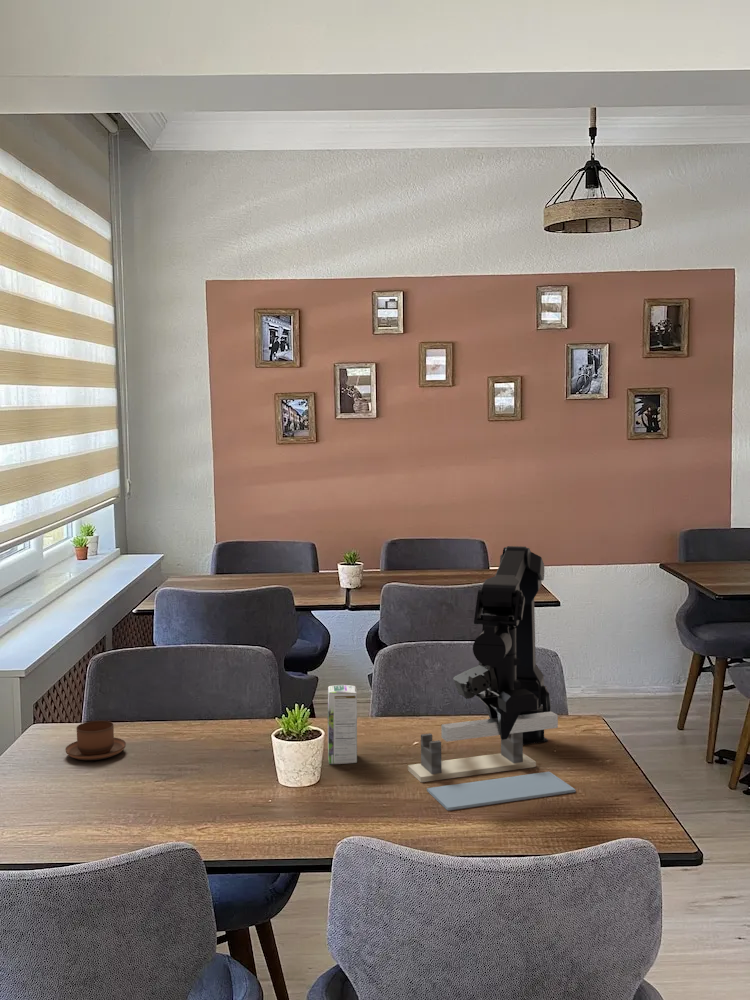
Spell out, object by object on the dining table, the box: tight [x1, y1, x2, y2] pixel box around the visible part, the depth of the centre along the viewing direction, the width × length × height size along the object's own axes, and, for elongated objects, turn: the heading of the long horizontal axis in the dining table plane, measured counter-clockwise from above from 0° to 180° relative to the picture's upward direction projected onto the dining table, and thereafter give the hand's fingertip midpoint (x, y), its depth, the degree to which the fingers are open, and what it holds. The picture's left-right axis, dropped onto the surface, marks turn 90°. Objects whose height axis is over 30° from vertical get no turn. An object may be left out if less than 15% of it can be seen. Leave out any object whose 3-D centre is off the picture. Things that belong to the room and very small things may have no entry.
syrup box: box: [327, 684, 358, 765], centre depth 204 cm, size 6×6×14 cm
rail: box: [440, 710, 559, 742], centre depth 185 cm, size 22×2×2 cm, turn 108°
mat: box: [426, 771, 576, 811], centre depth 186 cm, size 25×10×1 cm, turn 108°
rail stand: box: [407, 732, 537, 783], centre depth 198 cm, size 24×7×7 cm, turn 108°
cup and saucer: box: [65, 720, 127, 761], centre depth 210 cm, size 12×12×6 cm
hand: (500, 736), depth 185 cm, fingers closed on rail, 2 cm apart
